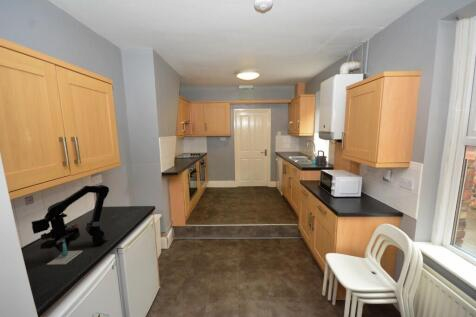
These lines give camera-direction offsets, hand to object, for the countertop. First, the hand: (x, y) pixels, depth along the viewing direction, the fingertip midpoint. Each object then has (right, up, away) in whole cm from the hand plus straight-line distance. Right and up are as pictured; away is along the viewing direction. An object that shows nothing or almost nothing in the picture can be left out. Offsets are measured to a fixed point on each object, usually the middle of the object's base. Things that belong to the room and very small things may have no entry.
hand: (63, 250), depth 118 cm
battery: (-13, -2, +23) cm, 27 cm away
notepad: (0, -5, +1) cm, 5 cm away
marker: (0, -3, 0) cm, 3 cm away
